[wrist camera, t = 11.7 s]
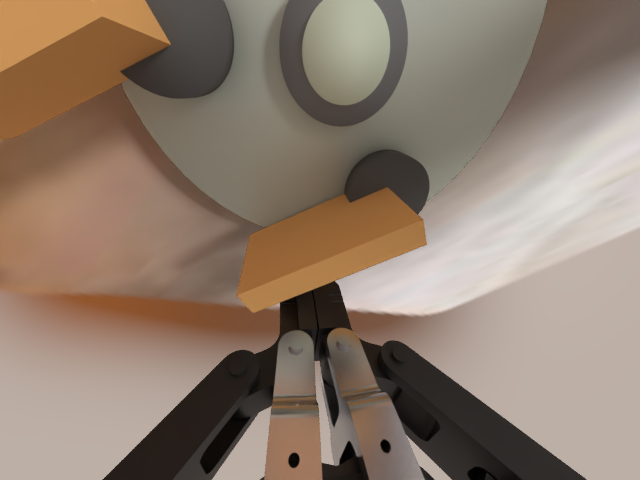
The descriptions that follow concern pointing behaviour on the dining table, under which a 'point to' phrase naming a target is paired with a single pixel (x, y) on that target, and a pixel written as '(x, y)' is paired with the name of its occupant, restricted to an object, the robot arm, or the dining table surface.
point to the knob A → (106, 53)
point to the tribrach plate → (343, 96)
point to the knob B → (339, 232)
